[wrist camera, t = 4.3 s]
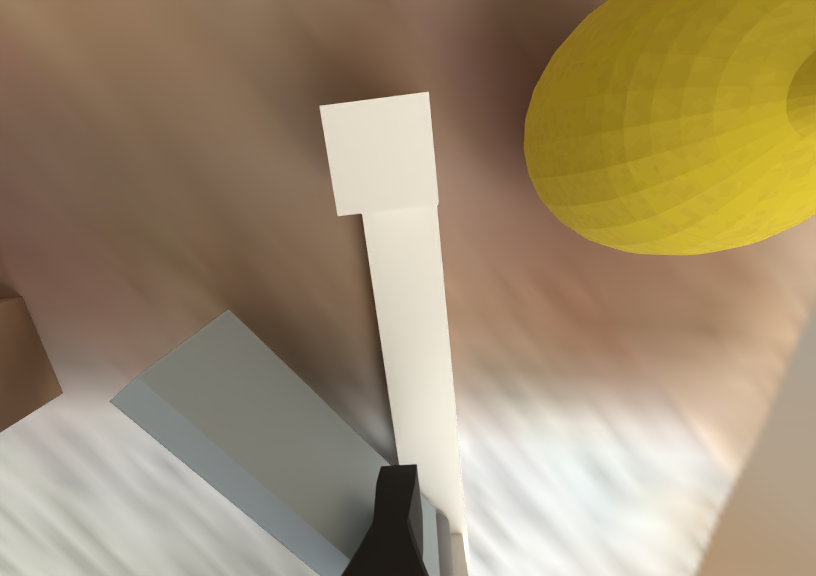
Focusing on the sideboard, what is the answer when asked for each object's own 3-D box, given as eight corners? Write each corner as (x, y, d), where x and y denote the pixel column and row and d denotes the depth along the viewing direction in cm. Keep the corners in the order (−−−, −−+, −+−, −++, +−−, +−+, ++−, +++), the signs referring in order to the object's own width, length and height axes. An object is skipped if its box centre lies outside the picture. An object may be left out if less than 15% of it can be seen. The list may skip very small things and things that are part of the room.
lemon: (649, 6, 11) (1171, -365, 3) (689, 187, 13) (1123, 210, 5) (469, 90, 12) (573, -65, 4) (526, 253, 13) (683, 364, 6)
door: (454, 524, 16) (473, 689, 11) (418, 547, 16) (420, 716, 11) (229, 307, 13) (116, 391, 8) (193, 340, 13) (64, 439, 8)
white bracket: (468, 556, 17) (492, 722, 12) (415, 560, 17) (415, 726, 12) (426, 108, 12) (437, 58, 7) (350, 118, 12) (303, 77, 7)
